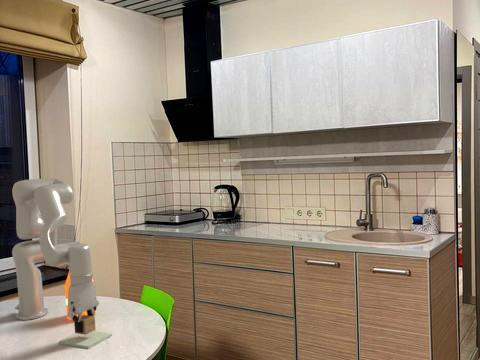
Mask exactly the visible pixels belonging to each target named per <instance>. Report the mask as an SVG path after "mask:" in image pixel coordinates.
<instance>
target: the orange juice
mask: <svg viewBox="0 0 480 360" xmlns="http://www.w3.org/2000/svg"><path fill="white" fill-rule="evenodd" d="M92 281H93V282H94V283H95V281H94V279H93V277H92ZM69 285H71V284H70V271H68V274H67V278H66V280H65V284H64V291H65V292H64V294H65V306H66V316H67V314H68V312H69V311H68V289H69ZM73 314H74V312H73ZM83 315H87V312H86V311H85V312H82V316H83ZM96 315H97V310H96V311H95V315H94V316H96ZM77 317H78V314H77ZM66 319H67V320H71V321H73V320H72V319H71V318H69V317H68V316H67V317H66Z"/></svg>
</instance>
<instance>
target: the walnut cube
mask: <svg viewBox="0 0 480 360" xmlns="http://www.w3.org/2000/svg"><path fill="white" fill-rule="evenodd" d="M95 316H96V315H94V316H89V315H83V316H82V317H81V321H82V322H83V332H82V333H80V332H76V331H75V330H74V334H75V333H78V334H85V335H86V334H88V333H90V332H92V331H96V317H95ZM73 324H74V325H73V326H74V327H75V321H73Z"/></svg>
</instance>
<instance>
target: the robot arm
mask: <svg viewBox="0 0 480 360" xmlns="http://www.w3.org/2000/svg"><path fill="white" fill-rule="evenodd" d="M12 197H13V201H14V203H15V208H16V210H15V211H16V215H15V216H16V220H15V221H16V222H15V223H16V224H15V225H16V227H15V228H16V229H15V230H16V235H17V237H18V239H20V240H26V241H23V242H21V241H20V242H18V243H16V244H15V245H14V246H13V248H12V250H11V254H12V258H13V259H12V260H13V261H14V266H15V272H16V283H17V284H16V285H17V292H18V293H17V294H18V304H17V305H16V306H15V307H14V309H15V310H16V311H17V310H18V312H17V313H16V314H15V317H16V319H17V320H20V321H28V320H34V319H39V318H42V317H45V316H46V315H47V314H48V313H49V309H48V308H46V307H45V303H44V290H43V278H42V272H41V270H40V269H39V268H38V267H37V266H36V265H35V264H37V263H40V262H46V264H47V265H48V266H50V267H59V266H65V265H68V269H69V271H70V284H71V285H69V289H68V311H69V312H68V314H67V313H66V316H68V317H69V318H71V319H72V320H71V321H73V322H74V321H75V326H74V332H75V331H76V332H80V333H82V332H83V322H82V321H81V317H82V312H85V311H86V312H87V315H89V316H96V315H95V311H96V312H97V308H98V306H99V305H100V302H99V301H98V300H97V294H96V293H97V292H96V286H95V281H94V282H93V281H92V278H93V275H94V274H93V271H92V260H91V259H92V258H91V248H90V245H88V244H84V243H81V242H80V241H71V242H66V243H65V242H64V243H59V244H58V228H60V227H61V226H63V225H64V224H65V223H66V222H67V221H68V214H67V213H66V212H67V211H66V210H65V207H64V205H68V204H69V205H70V203H72V201H73V200H74V191H73V189H72V187H71V186H70V185H69V183H67V182H65V181H63V180H61V179H58V178H54V177H48V178H35V179H34V178H33V179H32V178H31V179H24V180H19V181H17V182H15V183H14V184H13V187H12ZM39 213H40V214H39ZM38 238H39V239H38ZM33 239H34V240H33ZM69 271H68V272H69ZM73 312H74V314H73ZM77 314H78V317H77Z"/></svg>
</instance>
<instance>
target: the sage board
mask: <svg viewBox="0 0 480 360" xmlns="http://www.w3.org/2000/svg"><path fill="white" fill-rule="evenodd" d="M112 336H113V333H109V332H102V331H96V330H94V331H92V332H90V333H88V334H86V335H85V334H78V333H75V332H74V333H73V334H71V335H69V336H67V337H64V338H62V339H61V340H59V341H58V344H59V345H65V346H69V347H70V346H71V347H77V348H84V349H90V348H92V347H94V346H96V345H98V344H100V343H102V342H103V341H106V340H107V339H109V338H111V337H112Z"/></svg>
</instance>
